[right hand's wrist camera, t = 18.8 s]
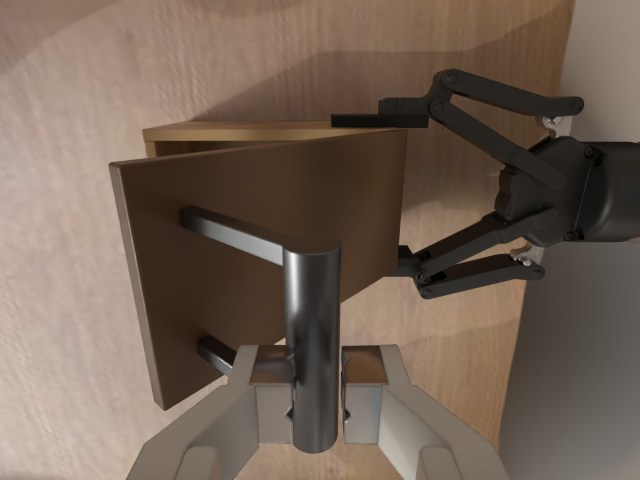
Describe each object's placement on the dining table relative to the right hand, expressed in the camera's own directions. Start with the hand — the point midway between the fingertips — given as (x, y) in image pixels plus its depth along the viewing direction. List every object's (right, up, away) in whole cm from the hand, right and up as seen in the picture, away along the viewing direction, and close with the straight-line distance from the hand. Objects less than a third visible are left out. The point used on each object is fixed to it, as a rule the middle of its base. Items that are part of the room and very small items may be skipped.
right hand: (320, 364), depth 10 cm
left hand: (+1, +7, +18) cm, 20 cm away
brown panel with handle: (-1, +4, +10) cm, 10 cm away
